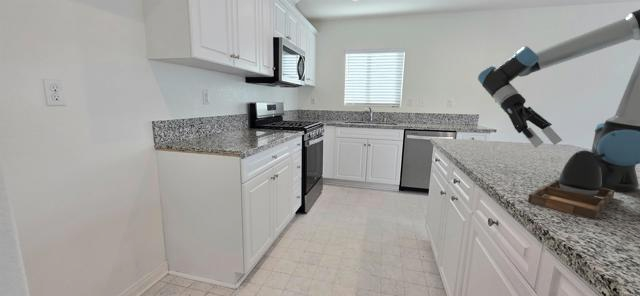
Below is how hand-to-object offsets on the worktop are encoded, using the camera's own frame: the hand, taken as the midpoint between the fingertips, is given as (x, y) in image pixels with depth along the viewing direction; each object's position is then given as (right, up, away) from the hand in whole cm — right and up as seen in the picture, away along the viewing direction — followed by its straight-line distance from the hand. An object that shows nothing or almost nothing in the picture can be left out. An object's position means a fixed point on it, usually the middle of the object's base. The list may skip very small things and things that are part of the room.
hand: (549, 143), depth 94 cm
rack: (-1, -18, -10) cm, 20 cm away
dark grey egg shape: (+5, -17, -5) cm, 19 cm away
